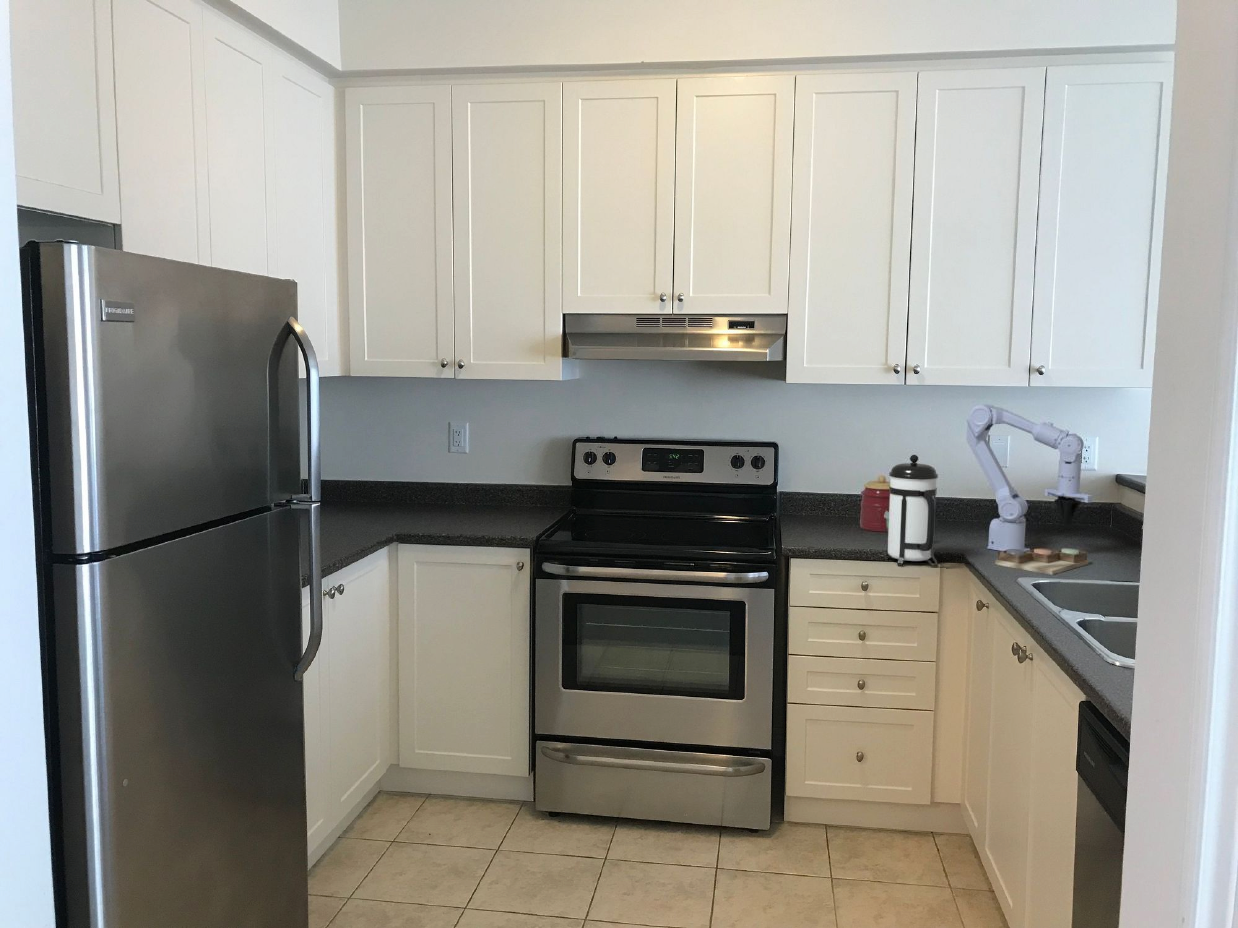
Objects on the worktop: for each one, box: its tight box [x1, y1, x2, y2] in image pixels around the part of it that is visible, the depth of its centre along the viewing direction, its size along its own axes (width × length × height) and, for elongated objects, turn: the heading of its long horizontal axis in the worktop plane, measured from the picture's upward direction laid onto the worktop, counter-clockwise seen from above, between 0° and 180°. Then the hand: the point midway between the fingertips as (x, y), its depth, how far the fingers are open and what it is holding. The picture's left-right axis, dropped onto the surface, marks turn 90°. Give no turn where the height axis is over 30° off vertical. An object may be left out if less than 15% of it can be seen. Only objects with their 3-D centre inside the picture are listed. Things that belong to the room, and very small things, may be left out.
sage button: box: [1060, 547, 1080, 554], centre depth 267 cm, size 4×4×3 cm
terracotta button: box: [1033, 548, 1053, 555], centre depth 266 cm, size 4×4×3 cm
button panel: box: [994, 548, 1090, 576], centre depth 266 cm, size 16×21×3 cm
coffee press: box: [883, 454, 939, 568], centre depth 265 cm, size 17×16×30 cm
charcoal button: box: [1007, 549, 1024, 555], centre depth 266 cm, size 4×4×3 cm
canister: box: [859, 475, 891, 533], centre depth 318 cm, size 13×13×18 cm
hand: (1066, 524), depth 276 cm, fingers closed
